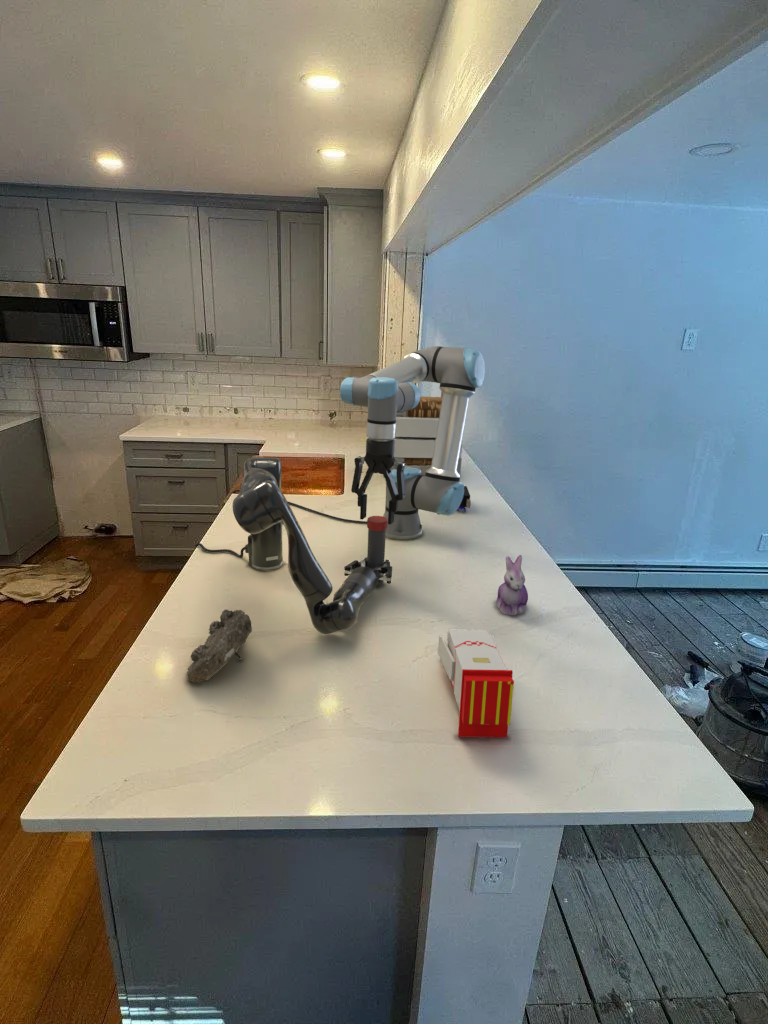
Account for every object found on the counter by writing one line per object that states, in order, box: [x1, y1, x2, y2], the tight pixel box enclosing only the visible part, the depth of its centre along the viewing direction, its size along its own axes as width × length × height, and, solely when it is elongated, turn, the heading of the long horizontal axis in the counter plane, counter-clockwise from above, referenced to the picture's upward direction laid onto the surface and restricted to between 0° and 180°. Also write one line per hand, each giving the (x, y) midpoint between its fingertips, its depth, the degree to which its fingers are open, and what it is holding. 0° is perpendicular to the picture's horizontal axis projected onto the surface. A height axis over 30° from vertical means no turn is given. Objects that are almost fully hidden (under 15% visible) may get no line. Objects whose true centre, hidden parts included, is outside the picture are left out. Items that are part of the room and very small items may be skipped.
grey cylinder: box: [366, 528, 387, 589], centre depth 159 cm, size 5×5×20 cm
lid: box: [366, 515, 388, 531], centre depth 156 cm, size 6×6×2 cm
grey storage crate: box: [391, 391, 465, 482], centre depth 268 cm, size 34×33×41 cm
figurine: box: [496, 554, 529, 616], centre depth 150 cm, size 9×10×15 cm
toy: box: [437, 628, 515, 738], centre depth 117 cm, size 12×13×30 cm
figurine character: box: [456, 485, 472, 513], centre depth 228 cm, size 7×8×15 cm
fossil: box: [186, 609, 253, 683], centre depth 125 cm, size 22×10×15 cm
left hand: (378, 561), depth 163 cm, fingers closed on grey cylinder, 5 cm apart
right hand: (376, 520), depth 156 cm, fingers open, 7 cm apart
